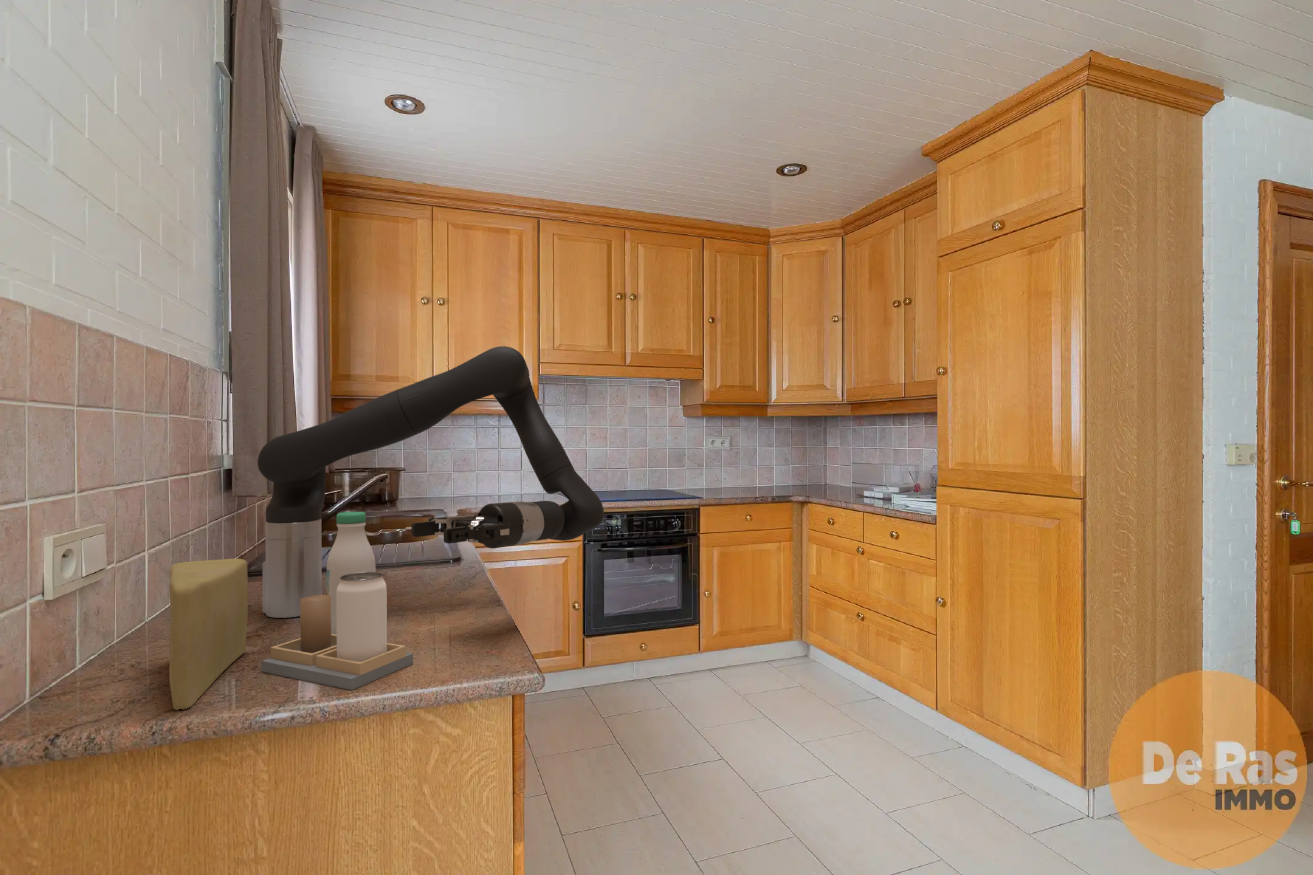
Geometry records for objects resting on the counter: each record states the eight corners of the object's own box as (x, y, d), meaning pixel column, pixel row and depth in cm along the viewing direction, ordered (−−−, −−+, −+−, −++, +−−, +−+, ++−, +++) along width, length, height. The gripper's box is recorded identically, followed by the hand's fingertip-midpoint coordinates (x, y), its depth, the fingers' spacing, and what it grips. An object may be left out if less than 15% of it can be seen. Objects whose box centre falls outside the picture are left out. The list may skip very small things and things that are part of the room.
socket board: (261, 671, 95) (261, 604, 94) (327, 648, 105) (327, 587, 105) (351, 690, 88) (351, 617, 88) (413, 663, 98) (413, 598, 98)
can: (367, 670, 91) (366, 581, 91) (326, 666, 92) (325, 579, 92) (396, 655, 97) (396, 572, 97) (357, 651, 98) (357, 570, 98)
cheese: (228, 704, 83) (228, 583, 83) (131, 719, 79) (130, 592, 79) (248, 652, 103) (248, 554, 103) (171, 661, 99) (171, 559, 99)
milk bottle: (385, 625, 117) (385, 511, 117) (352, 638, 110) (352, 516, 110) (350, 621, 120) (350, 509, 120) (315, 633, 112) (315, 514, 112)
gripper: (485, 498, 120) (402, 504, 107) (539, 505, 111) (457, 512, 99) (484, 540, 120) (401, 551, 107) (538, 550, 112) (456, 563, 99)
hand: (428, 533), depth 103 cm, fingers open, 8 cm apart
